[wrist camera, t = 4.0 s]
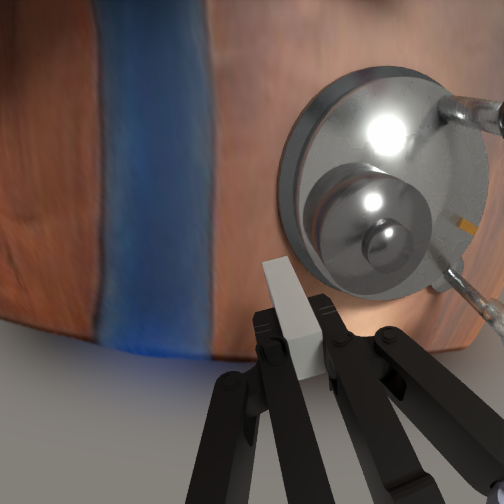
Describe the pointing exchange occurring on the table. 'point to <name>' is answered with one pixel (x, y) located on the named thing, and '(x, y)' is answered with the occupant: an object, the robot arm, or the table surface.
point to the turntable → (408, 160)
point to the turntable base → (297, 142)
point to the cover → (367, 227)
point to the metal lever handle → (472, 297)
